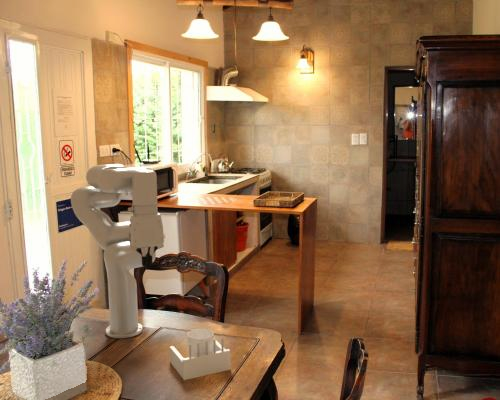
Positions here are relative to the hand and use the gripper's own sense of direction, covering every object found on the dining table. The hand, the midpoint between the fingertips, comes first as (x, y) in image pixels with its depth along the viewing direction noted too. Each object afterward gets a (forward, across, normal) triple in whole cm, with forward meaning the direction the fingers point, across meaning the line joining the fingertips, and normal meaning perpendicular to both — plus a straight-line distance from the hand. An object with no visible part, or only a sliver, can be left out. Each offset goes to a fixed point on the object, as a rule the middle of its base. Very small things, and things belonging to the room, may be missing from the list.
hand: (147, 267), depth 170 cm
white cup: (+27, +10, -18) cm, 34 cm away
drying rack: (+27, +10, -18) cm, 34 cm away
